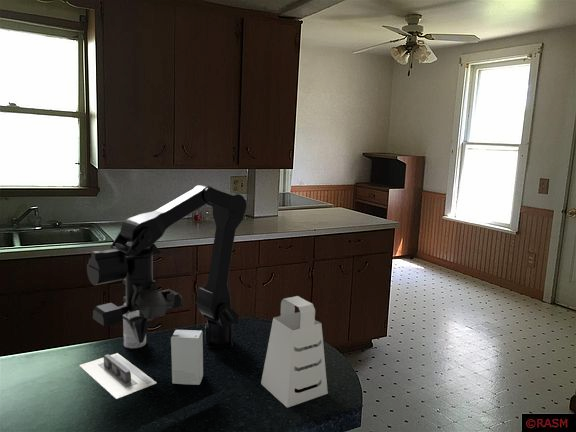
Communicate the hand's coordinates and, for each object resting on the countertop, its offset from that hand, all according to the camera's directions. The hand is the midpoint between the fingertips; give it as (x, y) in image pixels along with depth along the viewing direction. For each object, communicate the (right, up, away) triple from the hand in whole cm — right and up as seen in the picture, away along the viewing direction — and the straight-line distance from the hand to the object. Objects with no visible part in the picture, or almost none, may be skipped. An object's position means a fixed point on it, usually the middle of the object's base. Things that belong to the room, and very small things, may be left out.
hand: (140, 342), depth 104 cm
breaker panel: (-4, -8, -3) cm, 9 cm away
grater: (+34, -9, -3) cm, 36 cm away
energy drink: (-5, -5, +12) cm, 14 cm away
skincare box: (+11, -9, -4) cm, 15 cm away
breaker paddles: (-4, -6, -3) cm, 8 cm away
